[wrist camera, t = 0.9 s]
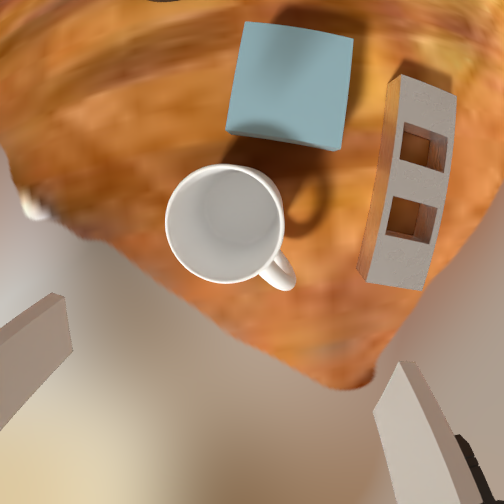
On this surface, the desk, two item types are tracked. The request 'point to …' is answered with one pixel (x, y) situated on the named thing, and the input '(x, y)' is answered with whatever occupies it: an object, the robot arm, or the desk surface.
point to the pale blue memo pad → (291, 85)
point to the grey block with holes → (409, 184)
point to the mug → (229, 226)
